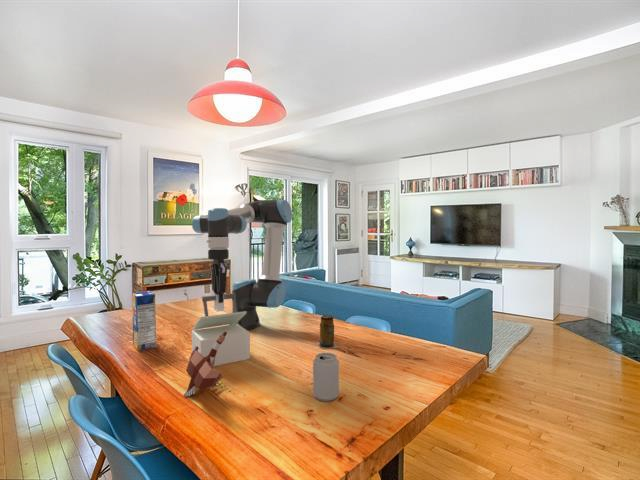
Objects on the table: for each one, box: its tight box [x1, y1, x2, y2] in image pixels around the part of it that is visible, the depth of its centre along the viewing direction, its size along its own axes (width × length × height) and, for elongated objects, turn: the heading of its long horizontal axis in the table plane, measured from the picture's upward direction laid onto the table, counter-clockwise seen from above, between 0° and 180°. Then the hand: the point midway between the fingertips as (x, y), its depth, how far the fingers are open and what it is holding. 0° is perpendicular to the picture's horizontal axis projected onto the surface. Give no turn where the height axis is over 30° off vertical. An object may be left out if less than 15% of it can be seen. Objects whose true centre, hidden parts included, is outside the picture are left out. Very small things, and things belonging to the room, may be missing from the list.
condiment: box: [316, 314, 339, 350], centre depth 147 cm, size 7×8×12 cm
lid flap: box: [192, 292, 247, 331], centre depth 135 cm, size 17×14×9 cm
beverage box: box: [131, 290, 157, 352], centre depth 146 cm, size 7×11×22 cm, turn 36°
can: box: [312, 352, 340, 402], centre depth 102 cm, size 8×8×12 cm
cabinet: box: [191, 324, 251, 367], centre depth 133 cm, size 18×14×10 cm
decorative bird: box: [183, 332, 227, 398], centre depth 106 cm, size 28×18×15 cm, turn 33°
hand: (219, 310), depth 134 cm, fingers open, 2 cm apart
